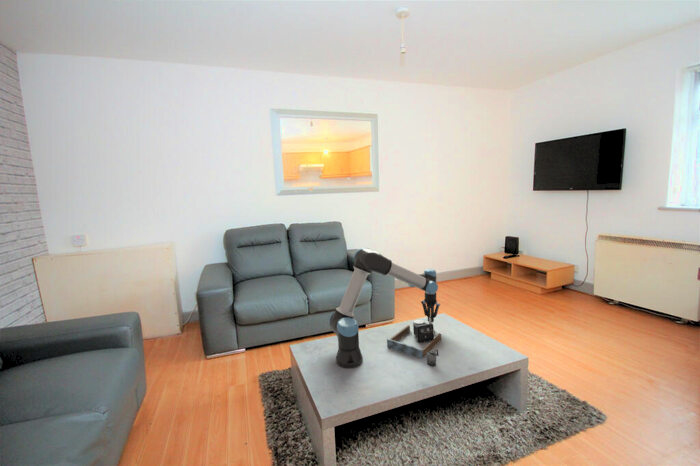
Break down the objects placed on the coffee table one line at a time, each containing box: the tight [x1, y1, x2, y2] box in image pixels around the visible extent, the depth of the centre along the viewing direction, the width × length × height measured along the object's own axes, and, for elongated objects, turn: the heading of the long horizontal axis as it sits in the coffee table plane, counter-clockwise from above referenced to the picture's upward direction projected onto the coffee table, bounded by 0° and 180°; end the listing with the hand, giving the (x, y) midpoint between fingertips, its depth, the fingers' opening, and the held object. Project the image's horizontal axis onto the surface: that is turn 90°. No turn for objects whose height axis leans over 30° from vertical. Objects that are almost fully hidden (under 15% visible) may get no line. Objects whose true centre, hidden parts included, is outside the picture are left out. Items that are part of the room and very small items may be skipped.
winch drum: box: [426, 349, 440, 367], centre depth 170 cm, size 6×5×9 cm
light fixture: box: [412, 319, 435, 344], centre depth 200 cm, size 11×13×11 cm
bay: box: [386, 324, 442, 359], centre depth 194 cm, size 23×26×5 cm
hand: (430, 326), depth 212 cm, fingers closed
